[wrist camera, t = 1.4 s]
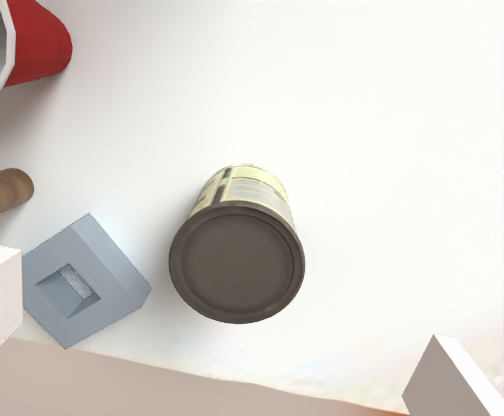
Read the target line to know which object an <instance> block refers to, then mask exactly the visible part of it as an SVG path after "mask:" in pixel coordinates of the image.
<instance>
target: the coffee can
mask: <svg viewBox="0 0 504 416" xmlns="http://www.w3.org/2000/svg"><path fill="white" fill-rule="evenodd" d="M169 271H170V276H171V279H172V282H173V284H174V287H175V288H176V290H177V292H178V293H179V295H180V296H181V297H182V298H183V300H184V301H185V302H186V303H187V304H188V305H189V306H191V307H192V308H193V309H194V310H196V311H197V312H198V313H200V314H202V315H204V316H206V317H208V318H210V319H213V320H216V321H220V322H224V323H233V324H247V323H254V322H258V321H261V320H264V319H267V318H269V317H272V316H273V315H275V314H277V313H278V312H280V311H281V310H282V309H284V308H285V307H286V306H287V305H288V304H289V303H290V302H291V301H292V300H293V299H294V297H295V296H296V294H297V293H298V291H299V289H300V287H301V284H302V282H303V279H304V273H305V256H304V251H303V248H302V245H301V242H300V240H299V238H298V236H297V232H296V229H295V225H294V221H293V218H292V214H291V210H290V207H289V203H288V197H287V194H286V191H285V189H284V187H283V185H282V183H281V182H280V181H279V180H278V179H277V177H276V176H275V175H273V174H272V173H271V172H269V171H268V170H266V169H264V168H262V167H259V166H256V165H252V164H236V165H231V166H228V167H226V168H223V169H222V170H220V171H218V172H217V173H216V174H214V175H213V176H212V177H211V179H210V180H209V181H208V182H207V184H206V185H205V187H204V190H203V192H202V194H201V196H200V197H199V199H198V201H197V203H196V205H195V207H194V208H193V210H192V212H191V213H190V215H189V217H188V219H187V221H186V222H185V223H184V224H183V225H182V227H181V228H180V229H179V231H178V232H177V234H176V235H175V238H174V240H173V242H172V245H171V248H170V252H169Z"/></svg>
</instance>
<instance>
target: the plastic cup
mask: <svg viewBox="0 0 504 416" xmlns="http://www.w3.org/2000/svg"><path fill="white" fill-rule="evenodd" d="M71 54H72V43H71V39H70V35H69V33H68V31H67V30H66V28H65V26H64V25H63V23H62V22H61V21H60V20H59V19H58V18H57V17H55V16H54V15H53V14H52V13H51V12H50V11H48V10H47V9H45V8H44V7H42V6H41V5H40V4H39V3H37V2H36V1H35V0H0V90H1V89H3V88H5V87H7V86H12V85H16V84H20V83H24V82H28V81H32V80H36V79H40V78H41V77H45V76H50V75H54V74H56V73H57V72H59V71H61V70H62V69H64V68H65V67H66V66H67V64H68V63H69V61H70V59H71Z"/></svg>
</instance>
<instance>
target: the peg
mask: <svg viewBox="0 0 504 416" xmlns="http://www.w3.org/2000/svg"><path fill="white" fill-rule="evenodd" d="M33 192H34V186H33V183H32V181H31V179H30V177H29V176H28V175H27V174H26V173H24V172H23V171H21V170H19V169H15V168H9V169H5V170H2V171H0V213H1V212H3V211H5V210H7V209H9V208H12V207H14V206H16V205H18V204H20V203H22V202H25V201H27V200H28V199H30V198H31V197H32V195H33Z"/></svg>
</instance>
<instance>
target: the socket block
mask: <svg viewBox="0 0 504 416" xmlns="http://www.w3.org/2000/svg"><path fill="white" fill-rule="evenodd" d="M21 259H22V303H23V308H24V309H25V310H26V311H27V312H28V313H29V314H30V315H31V316H32V317H33V318H34V319H35V320H36V321H37V322H38V323H39V324H40V325H41V326H42V327H43V328H44V329H45V330H46V331H47V332H48V333H49V334H50V335H51V336H52V337H53V338H54V339H55V340H56V341H57V342H58V343H59V344H60V345H61V346H62V347H63V348H64V349H67V348H69V347H71V346H73V345H74V344H76V343H78V342H80V341H81V340H83V339H85V338H87V337H89V336H90V335H92V334H94V333H96V332H98V331H99V330H101V329H103V328H105V327H107V326H108V325H110V324H112V323H114V322H116V321H117V320H119V319H121V318H123V317H125V316H126V315H128V314H130V313H132V312H134V311H135V310H137V309H139V308H141V307H142V305H143V303H144V301H145V299H146V298H147V296H148V294H149V292H150V290H151V289H152V287H151V286H150V285H149V284H148V283H147V281H146V280H145V279H144V278H143V277H142V275H141V274H140V273H139V272H138V270H137V269H136V268H135V267H134V266H133V264H132V263H131V262H130V261H129V260H128V258H127V257H126V256H125V255H124V254H123V252H122V251H121V250H120V249H119V248H118V246H117V245H116V244H115V243H114V242H113V240H112V239H111V238H110V237H109V236H108V234H107V233H106V232H105V231H104V230H103V228H102V227H101V226H100V225H99V224H98V222H97V221H96V220H95V219H94V218H93V216H92V215H91V214H90V213H88V214H86V215H85V216H83V217H82V218H80V219H79V220H77V221H76V222H74V223H73V224H71V225H70V226H68V227H67V228H65V229H64V230H62V231H61V232H59V233H57V234H56V235H54V236H53V237H51V238H50V239H48V240H47V241H45V242H44V243H42V244H41V245H39V246H38V247H36V248H35V249H33V250H32V251H30V252H29V253H27V254H25V255H24V256H22V257H21ZM68 263H69V264H70V265H71V266H72V267H73V268H74V269H75V270H76V271H77V272H78V274H79V275H80V276H81V277H82V278H83V279H84V280H85V281H86V282H87V283H88V285H89V286H90V287H91V288H92V289H93V290H94V291H95V293H94V294H92V295H90V296H89V297H87V298H85V299H83V298H82V297H81V296H80V295H79V294H78V293H77V292H76V291H75V289H74V288H73V287H72V286H71V285H70V284H69V283H68V282H67V281H66V280H65V279H64V278H63V276H62V275H61V274H60V273H59V272H58V271H57V270H59V269H60V268H62V267H63V266H65V265H67V264H68Z"/></svg>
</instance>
